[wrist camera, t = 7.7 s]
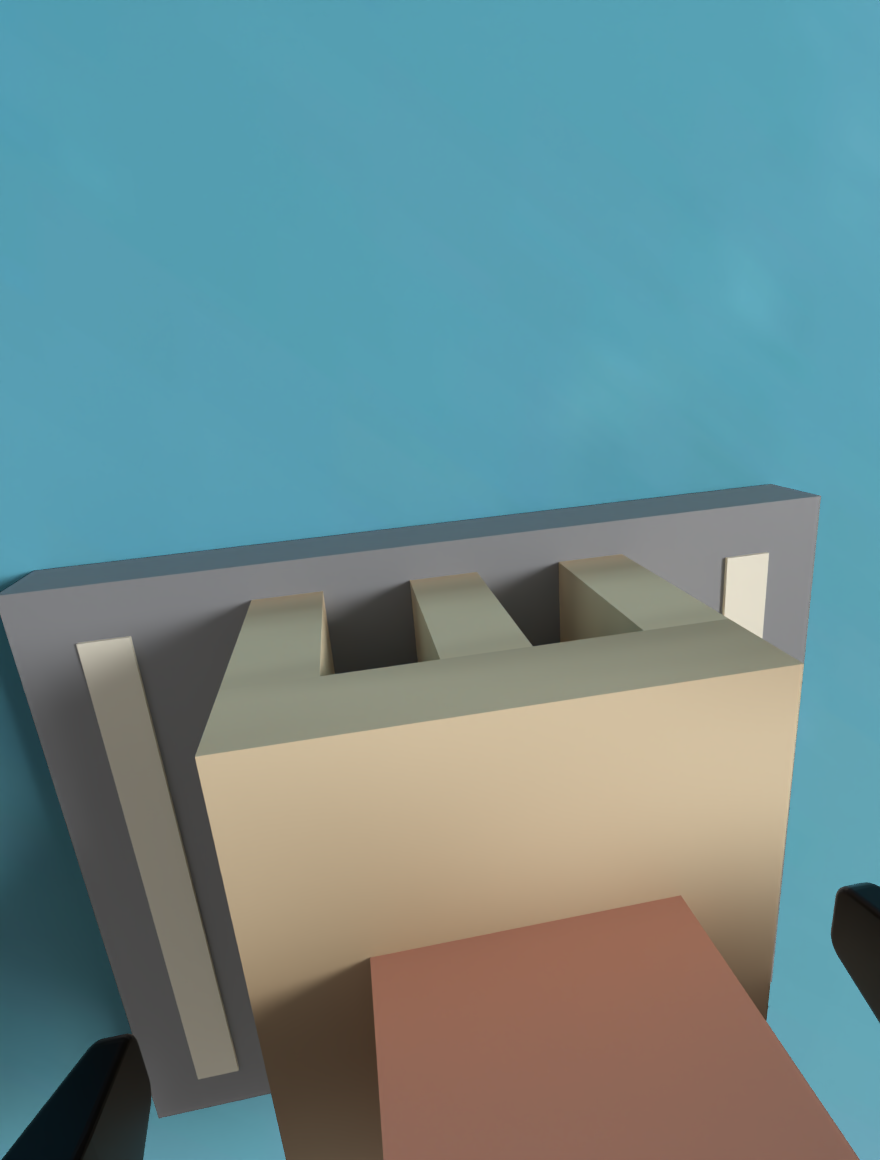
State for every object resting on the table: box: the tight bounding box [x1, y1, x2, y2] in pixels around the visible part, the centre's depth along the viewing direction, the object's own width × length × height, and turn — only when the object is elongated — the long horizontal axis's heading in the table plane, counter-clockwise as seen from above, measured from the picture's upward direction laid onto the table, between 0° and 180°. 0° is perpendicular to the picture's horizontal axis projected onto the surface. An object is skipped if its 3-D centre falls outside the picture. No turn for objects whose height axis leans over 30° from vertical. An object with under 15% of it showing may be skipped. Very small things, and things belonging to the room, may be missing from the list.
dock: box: [0, 484, 821, 1118], centre depth 11 cm, size 10×12×1 cm
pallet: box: [195, 554, 804, 1160], centre depth 9 cm, size 9×6×4 cm, turn 4°
